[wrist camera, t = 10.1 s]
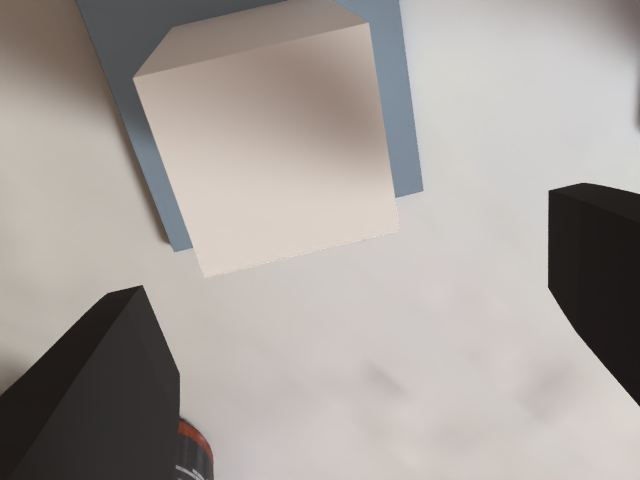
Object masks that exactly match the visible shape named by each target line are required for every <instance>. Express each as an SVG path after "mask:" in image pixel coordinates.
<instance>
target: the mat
mask: <svg viewBox="0 0 640 480" xmlns="http://www.w3.org/2000/svg"><path fill="white" fill-rule="evenodd" d="M283 1H287V0H76V2H77V4H78V7H79V10H80V12H81V15H82V17H83V20H84V22H85V25H86V27H87V30H88V33H89V35H90V38H91V40H92V43H93V45H94V48H95V51H96V53H97V56H98V58H99V61H100V63H101V66H102V69H103V71H104V74H105V76H106V79H107V81H108V84H109V87H110V89H111V92H112V94H113V97H114V99H115V102H116V105H117V107H118V110H119V112H120V115H121V117H122V120H123V122H124V125H125V128H126V130H127V133H128V135H129V138H130V140H131V143H132V146H133V148H134V151H135V153H136V156H137V158H138V161H139V164H140V166H141V169H142V171H143V174H144V176H145V179H146V182H147V184H148V187H149V189H150V192H151V194H152V197H153V200H154V202H155V205H156V207H157V210H158V212H159V215H160V218H161V220H162V223H163V225H164V228H165V230H166V233H167V235H168V238H169V241H170V243H171V246H172V248H173V251H174V252H178V251H182V250H186V249H190V248H194V247H193V245H192V242H191V239H190V236H189V234H188V231H187V228H186V225H185V222H184V220H183V217H182V214H181V211H180V209H179V206H178V203H177V200H176V197H175V195H174V192H173V189H172V186H171V184H170V181H169V178H168V175H167V172H166V170H165V167H164V164H163V161H162V159H161V156H160V153H159V150H158V147H157V145H156V142H155V139H154V136H153V134H152V131H151V128H150V125H149V122H148V120H147V117H146V114H145V111H144V108H143V106H142V103H141V100H140V97H139V95H138V92H137V89H136V86H135V83H134V81H133V77H134V75H135V74H136V73H137V72H138V70H139V69H140V68H141V67H142V65H143V64H144V63H145V61H146V60H147V59H148V58H149V56H150V55H151V54H152V53H153V51H154V50H155V49H156V48H157V46H158V45H159V44H160V42H161V41H162V40H163V39H164V37H165V36H166V35H167V34H168V32H169V31H170V30H171V28H172V27H175V26H180V25H184V24H188V23H192V22H197V21H201V20H205V19H210V18H214V17H218V16H222V15H227V14H231V13H235V12H240V11H244V10H248V9H253V8H257V7H261V6H265V5H270V4H274V3H278V2H283ZM333 1H334V2H336V3H338V4H339V5H341V6H343V7H344V8H346V9H348V10H349V11H351V12H352V13H354V14H356V15H357V16H359V17H361V18H362V19H364V20H365V21H367V22H369V27H370V34H371V40H372V47H373V54H374V60H375V67H376V74H377V80H378V87H379V94H380V100H381V107H382V114H383V120H384V127H385V134H386V140H387V147H388V154H389V160H390V167H391V174H392V180H393V187H394V194H395V198H397V197H401V196H405V195H409V194H413V193H417V192H421V191H423V184H422V176H421V168H420V161H419V153H418V145H417V138H416V130H415V122H414V114H413V107H412V99H411V91H410V83H409V76H408V68H407V60H406V53H405V45H404V37H403V29H402V22H401V14H400V6H399V0H333Z"/></svg>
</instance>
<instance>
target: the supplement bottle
mask: <svg viewBox="0 0 640 480" xmlns="http://www.w3.org/2000/svg"><path fill="white" fill-rule="evenodd" d="M171 480H214V474H213V454H212V451H211V448H210V446H209V444H208V442H207V441H206V439H205V438H204V437H203V436H202V434H201V433H200V432H199V431H198V430H197V429H195V428H194V427H193V426H191V425H190V424H188V423H186V422H184V421H181V420H179V429H178V437H177V443H176V450H175V457H174V463H173V470H172V476H171Z"/></svg>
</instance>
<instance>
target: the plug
mask: <svg viewBox="0 0 640 480" xmlns="http://www.w3.org/2000/svg"><path fill="white" fill-rule="evenodd" d="M133 81H134V83H135V86H136V89H137V92H138V95H139V97H140V100H141V103H142V106H143V108H144V111H145V114H146V117H147V120H148V122H149V125H150V128H151V131H152V134H153V136H154V139H155V142H156V145H157V147H158V150H159V153H160V156H161V159H162V161H163V164H164V167H165V170H166V172H167V175H168V178H169V181H170V184H171V186H172V189H173V192H174V195H175V197H176V200H177V203H178V206H179V209H180V211H181V214H182V217H183V220H184V222H185V225H186V228H187V231H188V234H189V236H190V239H191V242H192V245H193V247H194V250H195V253H196V256H197V259H198V261H199V264H200V267H201V270H202V272H203V275H204V278H208V277H212V276H216V275H220V274H224V273H228V272H232V271H237V270H241V269H245V268H249V267H253V266H257V265H261V264H266V263H270V262H274V261H278V260H282V259H286V258H291V257H295V256H299V255H303V254H307V253H311V252H315V251H320V250H324V249H328V248H332V247H336V246H340V245H344V244H349V243H353V242H357V241H361V240H365V239H369V238H374V237H378V236H382V235H386V234H390V233H394V232H398V231H400V227H399V220H398V214H397V207H396V200H395V194H394V187H393V180H392V174H391V167H390V160H389V154H388V147H387V140H386V134H385V127H384V120H383V114H382V107H381V100H380V94H379V87H378V80H377V74H376V67H375V60H374V54H373V47H372V40H371V34H370V27H369V22H367V21H365V20H364V19H362V18H361V17H359V16H357V15H356V14H354V13H352V12H351V11H349V10H348V9H346V8H344V7H343V6H341V5H339V4H338V3H336V2H334V1H333V0H287V1H283V2H278V3H274V4H270V5H265V6H261V7H257V8H253V9H248V10H244V11H240V12H235V13H231V14H227V15H222V16H218V17H214V18H210V19H205V20H201V21H197V22H192V23H188V24H184V25H180V26H175V27H172V28H171V30H170V31H169V32H168V34H167V35H166V36H165V37H164V39H163V40H162V41H161V42H160V44H159V45H158V46H157V48H156V49H155V50H154V51H153V53H152V54H151V55H150V56H149V58H148V59H147V60H146V61H145V63H144V64H143V65H142V67H141V68H140V69H139V70H138V72H137V73H136V74H135V75H134V77H133Z"/></svg>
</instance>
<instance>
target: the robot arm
mask: <svg viewBox="0 0 640 480" xmlns="http://www.w3.org/2000/svg"><path fill="white" fill-rule="evenodd" d="M548 288H549V290H550V291H551V293H552V295H553V296H554V298H555V299H556V301H557V303H558V304H559V306H560V308H561V309H562V311H563V313H564V314H565V316H566V317H567V319H568V320H569V322H570V323H571V325H572V326H573V328H574V329H575V331H576V332H577V333H578V335H579V336H580V337H581V338H582V340H583V341H584V342H585V343H586V344H587V346H588V347H589V348H590V349H591V350H592V351H593V353H594V354H595V355H596V356H597V357H598V359H599V360H600V361H601V362H602V363H603V364H604V366H605V367H606V368H607V369H608V370H609V371H610V373H611V374H612V375H613V376H614V377H615V378H616V380H617V381H618V382H619V383H620V384H621V385H622V386H623V388H624V389H625V390H626V391H627V392H628V393H629V395H630V396H631V397H632V398H633V399H634V400H635V402H636V403H637V404H638V405H639V406H640V194H637V193H633V192H629V191H624V190H620V189H616V188H611V187H606V186H601V185H596V184H589V183H579V184H575V185H571V186H567V187H562V188H558V189H554V190H549V211H548ZM179 409H180V374H179V371H178V369H177V366H176V364H175V362H174V359H173V357H172V354H171V352H170V350H169V347H168V345H167V343H166V340H165V338H164V335H163V333H162V331H161V328H160V326H159V323H158V321H157V319H156V316H155V314H154V311H153V309H152V307H151V304H150V302H149V299H148V297H147V295H146V292H145V290H144V288H143V285H141V286H136V287H132V288H128V289H124V290H119V291H115V292H111V293H107V294H106V295H105V296H104V297H102V298H101V299H100V300H99V301H98V302H97V303H95V304H94V305H93V306H92V307H91V308H90V309H89V310H88V311H87V312H86V313H85V314H84V315H83V316H82V317H81V318H80V319H79V320H78V321H77V322H76V323H75V324H74V325H73V326H72V327H71V328H70V329H69V330H68V331H67V332H66V333H65V334H64V335H63V336H62V337H61V338H60V339H59V340H58V341H57V342H56V343H55V344H54V345H53V346H52V347H51V348H50V349H49V350H48V351H47V352H46V353H45V354H44V355H43V356H42V357H41V358H40V359H39V360H38V361H37V362H36V363H35V364H34V365H33V366H32V367H31V368H30V369H29V370H28V371H27V372H26V373H25V374H24V375H23V376H21V377H20V378H19V379H18V380H17V381H16V382H15V383H14V384H13V385H12V386H11V387H10V388H9V389H7V390H6V391H5V392H4V393H3V394H2V395H1V396H0V480H171V476H172V470H173V463H174V457H175V450H176V443H177V437H178V429H179Z"/></svg>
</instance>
